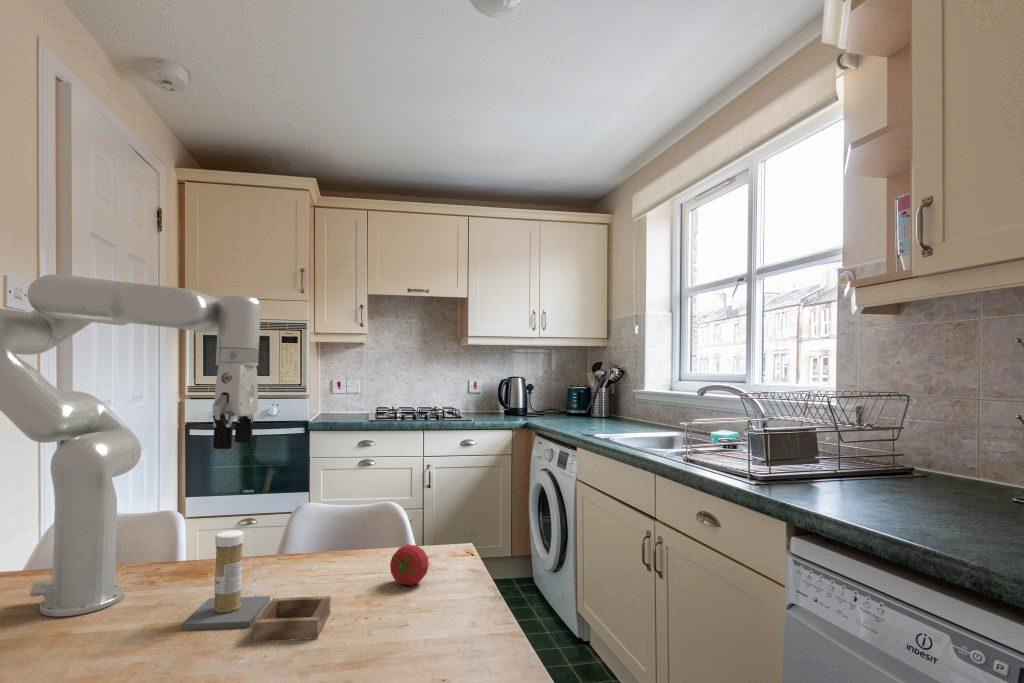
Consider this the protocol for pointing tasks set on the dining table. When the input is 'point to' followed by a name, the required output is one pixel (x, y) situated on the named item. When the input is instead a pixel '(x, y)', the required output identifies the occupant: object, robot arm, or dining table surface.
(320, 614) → the brown wooden square tray
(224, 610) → the spice jar
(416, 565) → the tomato
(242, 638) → the dining table surface
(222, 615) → the mat
